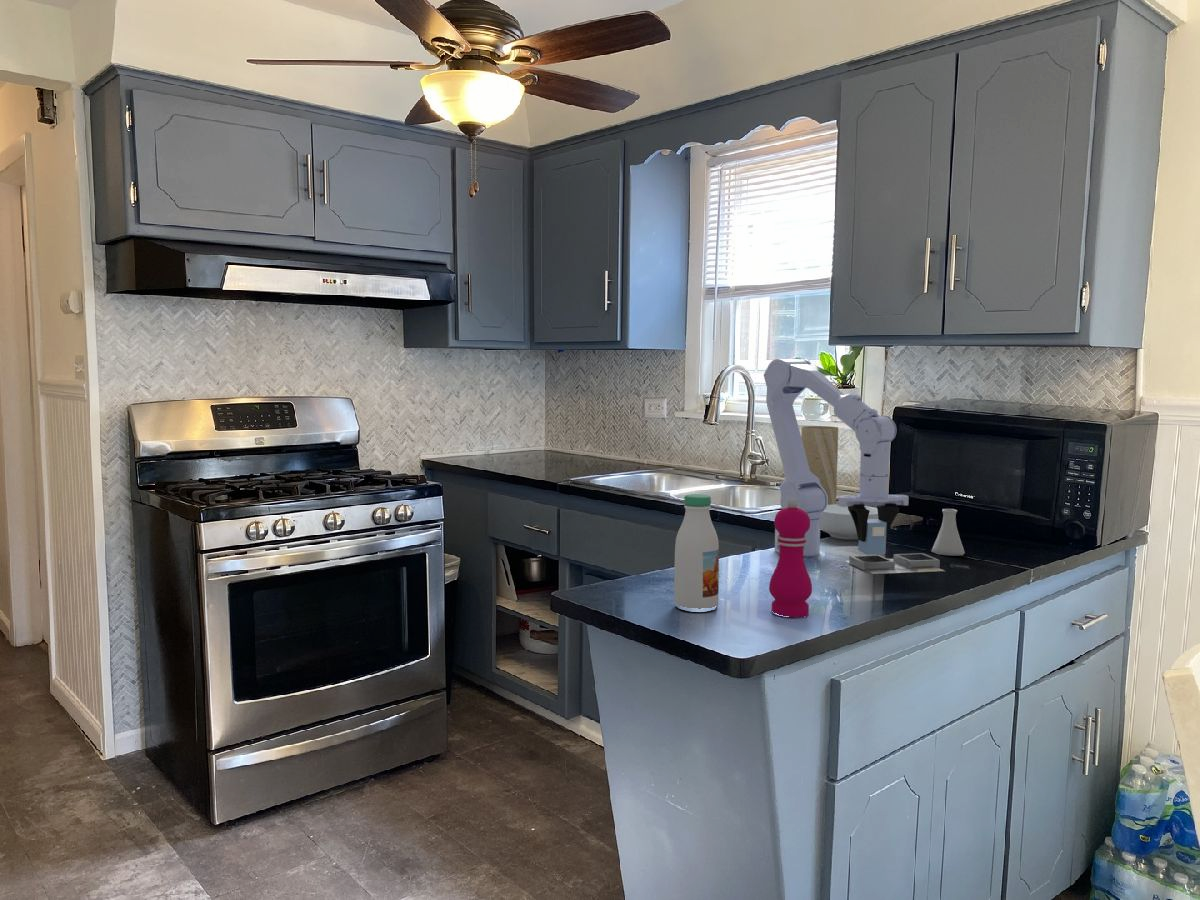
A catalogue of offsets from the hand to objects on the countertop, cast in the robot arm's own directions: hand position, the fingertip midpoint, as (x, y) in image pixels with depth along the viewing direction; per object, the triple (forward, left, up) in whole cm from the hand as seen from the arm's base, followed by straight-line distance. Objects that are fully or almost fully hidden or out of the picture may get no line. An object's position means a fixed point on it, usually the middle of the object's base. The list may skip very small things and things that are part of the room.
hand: (872, 540), depth 184 cm
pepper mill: (-28, -27, -7) cm, 40 cm away
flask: (+26, +13, -7) cm, 30 cm away
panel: (+5, 0, -7) cm, 8 cm away
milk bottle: (-43, -21, -7) cm, 49 cm away
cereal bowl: (+12, +35, -7) cm, 38 cm away
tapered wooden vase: (+17, +64, -7) cm, 67 cm away
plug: (0, 0, -2) cm, 2 cm away
